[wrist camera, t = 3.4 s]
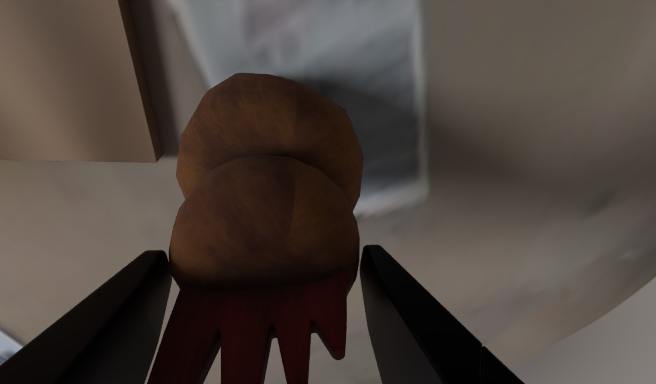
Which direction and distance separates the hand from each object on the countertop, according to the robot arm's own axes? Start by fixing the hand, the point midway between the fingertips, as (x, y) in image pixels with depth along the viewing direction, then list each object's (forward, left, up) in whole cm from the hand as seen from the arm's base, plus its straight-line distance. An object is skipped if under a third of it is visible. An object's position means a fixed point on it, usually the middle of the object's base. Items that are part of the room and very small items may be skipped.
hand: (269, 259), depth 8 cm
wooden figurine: (0, 0, -10) cm, 10 cm away
